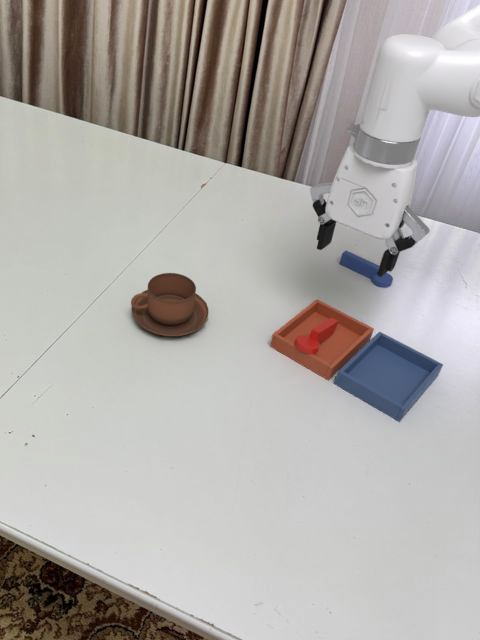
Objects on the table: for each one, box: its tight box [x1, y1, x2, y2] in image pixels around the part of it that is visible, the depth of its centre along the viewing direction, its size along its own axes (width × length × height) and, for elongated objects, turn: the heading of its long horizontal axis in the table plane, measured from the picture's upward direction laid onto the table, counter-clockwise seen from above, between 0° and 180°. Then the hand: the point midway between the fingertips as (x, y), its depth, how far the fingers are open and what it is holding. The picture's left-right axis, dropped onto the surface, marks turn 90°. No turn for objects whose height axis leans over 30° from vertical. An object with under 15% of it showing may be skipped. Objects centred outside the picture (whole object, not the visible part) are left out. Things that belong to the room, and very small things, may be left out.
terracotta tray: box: [269, 298, 375, 381], centre depth 95 cm, size 10×13×2 cm
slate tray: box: [333, 331, 444, 422], centre depth 90 cm, size 10×13×2 cm
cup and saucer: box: [130, 272, 210, 337], centre depth 96 cm, size 12×12×6 cm
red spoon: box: [294, 317, 339, 354], centre depth 93 cm, size 10×4×2 cm, turn 140°
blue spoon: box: [339, 250, 394, 289], centre depth 110 cm, size 10×4×2 cm, turn 49°
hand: (352, 258), depth 90 cm, fingers open, 9 cm apart
